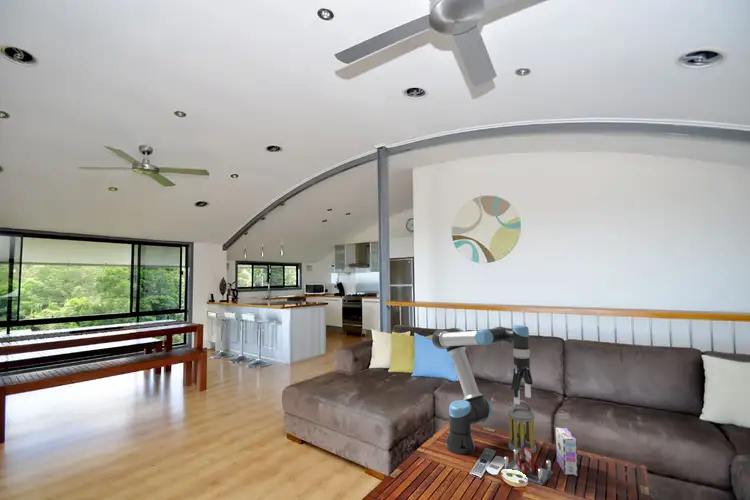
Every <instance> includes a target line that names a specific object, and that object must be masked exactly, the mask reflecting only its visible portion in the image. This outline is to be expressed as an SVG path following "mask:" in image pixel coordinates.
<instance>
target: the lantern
mask: <svg viewBox="0 0 750 500" xmlns="http://www.w3.org/2000/svg"><path fill="white" fill-rule="evenodd" d="M520 403H525V405H526V407H527V408H526V407H522V406H517V405H518V404H514V403H513V404H512V406H511V408H510V409H509V411H508V412H507V415H508V427H509V429H508V430H509V441H507V445H508V446H507V447H508V448H509V450H511V451H512V452H514V449H517V450H518V454H520V450H521V447H522V445H523V444H525V445H526V447H528V448H529V449H530V450H531V451H532V452H533V453H534V454H535V453H536V452H537V446H536V445H535V414H534V413H533V412H532V409H531V407H530V405H529V404H528V402H526V401H525V400H523V399H520ZM516 406H517V407H516ZM517 421H519V422H517ZM517 423H518V424H517Z"/></svg>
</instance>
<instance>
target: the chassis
mask: <svg viewBox="0 0 750 500" xmlns="http://www.w3.org/2000/svg"><path fill="white" fill-rule="evenodd" d="M517 458H519V453H518V450H517V449H514V451H513V460H511V461H509V456H504V467H503V468H502V470H503V469H512V470H518V471H520V472H522V469H521V468H519V467H518V464H517ZM551 462H552V461H551V460H550V459H546V469H545V468H542V467H540V466H538V467H539V468H538V473H535V472H531V471H529V470H528V473H523V472H522V473H523V474H525V475H526V477H527V478H528V480H527V481H530V482H531V483H535V484H538V485H540V486H543V485H545V484H546V482H547V481H548V480H549V479H550V478H551V477H552V476H553V473H554V472H553V471H552V463H551Z"/></svg>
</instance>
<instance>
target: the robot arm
mask: <svg viewBox="0 0 750 500" xmlns="http://www.w3.org/2000/svg"><path fill="white" fill-rule="evenodd" d="M529 331H530V330H529V327H528V326H527V325H522V324H521V325H520V324H518V325H517V324H515V325H513V326H512V328H510V327H503V326H495V327H494V328H488V329H487V328H486V329H476V330H474V329H473V330H463V329H461V328H458V327H451V328H450V327H449V328H442V329H441V328H440V329H438V330H436V331H434V332H433V334H432V336H431V342H432V344H433V346H434V347H435V348H437V349H439V350H446V352H447V354H449V355H450V356H451V360H452V362H453V365H454V369H455V371H456V375H457V377H458V380H459V383H460V386H461V390H462V393H463V396H464V397H463V399H461V400H459V399H457V400H453V401H452V402H451V403H450V404H449V406H448V407H449V408H448V421H449V422H448V425H449V426H448V427H449V429H448V430H449V431H448V435H447V438H446V442H445V447H446V449H447V450H448V451H450V452H452V453H454V454H459V455H468V454H471V453H474V452H475V451H476V444H475V440H474V438H473V434H472V426H475V425H478V424H481V423H486V422H487V421H488V420H489V421H490V419H491V417H492V415H493V408H492V404H491V402H490V400H489V401H488V399H487V398H484V395H483V393H481V392H480V390H479V388H478V385H477V382H476V380H475V376H474V374H473V371H472V368H471V365H470V362H469V360H468V357H467V353H466V349H467V346H476V345H477V346H478V345H480V346H489V345H494V344H502V343H508V344H512V346H513V347H512V349H513V351H512V353H513V365H515V366H516V368H513V375H512V381H511V390H513V404H517V405H519V406H520V405H521V402H520V400H521V394H520V392H521V390H520V387H521V384H522V381H523V380H524V382H525V383H524V397H525V398H528V399H529V398H530V399H531V398H532V390H531V389H532V387H531V386H532V385H533V383H534V382H533V377H532V373H531V369H530V366H531V359H530V354H531V351H530V332H529ZM522 379H523V380H522Z"/></svg>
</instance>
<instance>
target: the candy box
mask: <svg viewBox="0 0 750 500" xmlns="http://www.w3.org/2000/svg"><path fill="white" fill-rule="evenodd" d="M554 430H555V448H556V451H555V452H556V462H557V464H558V465H559V467H560V468H561V471H562V472H563V474H564V475H567V476H574V477H575V476H576V477H578V458H577V457H578V455H577V454H578V452H577V450H578V449H577V439H576V437H575V436H574V435H573V434H572V432H571V431H570V430H569V428H566V427H555V429H554Z"/></svg>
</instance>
